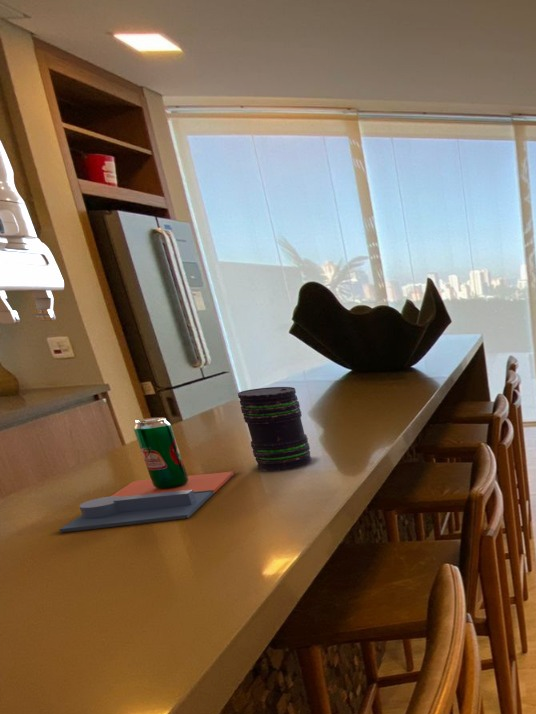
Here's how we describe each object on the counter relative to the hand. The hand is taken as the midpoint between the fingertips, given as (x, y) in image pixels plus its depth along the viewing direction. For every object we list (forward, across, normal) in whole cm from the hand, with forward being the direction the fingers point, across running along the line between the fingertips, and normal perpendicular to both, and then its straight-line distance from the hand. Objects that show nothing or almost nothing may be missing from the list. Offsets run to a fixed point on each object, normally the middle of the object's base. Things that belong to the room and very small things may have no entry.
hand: (30, 321), depth 89 cm
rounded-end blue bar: (+28, +14, +12) cm, 34 cm away
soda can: (+28, +2, +12) cm, 31 cm away
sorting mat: (+29, +8, +12) cm, 32 cm away
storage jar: (+29, -8, +28) cm, 41 cm away
